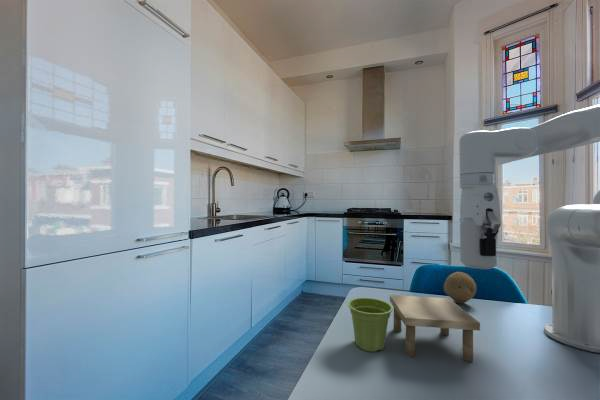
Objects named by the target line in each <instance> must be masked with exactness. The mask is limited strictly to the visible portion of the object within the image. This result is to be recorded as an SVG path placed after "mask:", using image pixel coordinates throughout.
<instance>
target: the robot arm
mask: <svg viewBox="0 0 600 400" xmlns="http://www.w3.org/2000/svg"><path fill="white" fill-rule="evenodd" d="M599 142H600V104H596V105H593V106H589V107H585V108H581V109H577V110H573V111H570V112H567V113H565V114H561V115H558V116H556V117H554V118H551V119H549V120H547V121H545V122H542V123H540V124H538V125H534V126H532V127H526V126H525V127H521V126H518V127H517V126H516V127H510V128H505V129H500V130H493V131H492V130H491V131H489V130H475V131H470V132H466V133H464V134H463V135H461V136H460V138H459V144H458V145H459V148H458V149H459V155H458V156H459V189H461V193H460V205H459V211H460V212H459V224H461V223H462V222H463V221H464V220H463V218H465V219H473V222H474V224H475V225H476V226H477V227H478V228H480V234H481V237H482V239H481V238H480V255H481V256H496V251H497V239H498V233H499V229H500V227H501V225H502V221H501V220H502V217H501V215H502V214H501V207H500V206H501V205H500V198H499V193H498V188H497V178H496V177H497V174H496V172H497V171H496V169H497V166H500V165H504V164H509V163H511V162H516V161H521V160H524V159H529V158H532V157H536V156H540V155H545V154H550V153H555V152H560V151H561V152H562V151H568V150H572V149H574V148H578V147H579V148H580V147H583V146H587V145H591V144H595V143H599ZM547 217H548V218H547V221H546V231H547V236H548V239H549V244H550V248H551V249H550V251H551V266H552V267H551V297H552V298H551V302H552V303H551V307H552V308H551V309H552V310H551V311H552V312H551V314H552V315H551V316H552V317H551V318H552V319H551V321H552V323H546V324H545V325H543V332H544V333H545V335H547V336H548V337H550V338H551V339H553V340H556V341H557V342H559V343H562V344H565V345H567V346H570V347H573V348H576V349H579V350H584V351H587V352H591V353H596V354H597V353H598V354H600V189H599V190H598V191H597V192H596V193H595V195H594V197H593V201H592V203H583V204H582V203H576V204H567V205H563V206H560V207H558V208H556V209H554V210H553V211H551V213H550V214H549V215H548V216H547ZM483 223H489V224H490V225H483ZM485 229H487V231H486V232H485Z"/></svg>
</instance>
